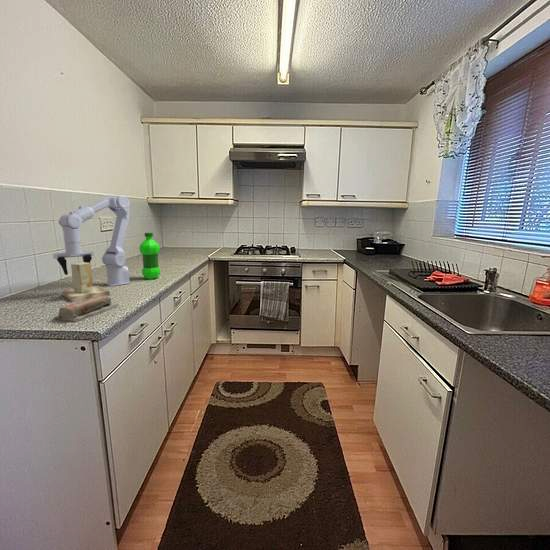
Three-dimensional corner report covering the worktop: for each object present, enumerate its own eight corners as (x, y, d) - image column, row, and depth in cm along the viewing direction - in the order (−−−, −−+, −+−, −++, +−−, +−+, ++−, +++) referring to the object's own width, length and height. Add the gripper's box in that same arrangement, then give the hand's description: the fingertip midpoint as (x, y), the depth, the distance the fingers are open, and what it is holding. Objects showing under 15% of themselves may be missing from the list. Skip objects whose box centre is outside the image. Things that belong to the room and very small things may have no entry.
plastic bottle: (149, 281, 157) (146, 233, 152) (137, 278, 162) (134, 232, 157) (165, 277, 165) (162, 233, 160) (153, 275, 170) (150, 232, 165)
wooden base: (98, 289, 138) (98, 285, 137) (109, 295, 129) (109, 290, 128) (62, 295, 127) (62, 290, 127) (72, 301, 118) (71, 297, 118)
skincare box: (82, 293, 124) (78, 264, 121) (73, 292, 124) (69, 264, 122) (94, 289, 130) (91, 262, 127) (85, 289, 131) (82, 261, 128)
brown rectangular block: (75, 309, 96) (52, 306, 99) (77, 323, 97) (54, 320, 100) (118, 295, 113) (97, 293, 116) (119, 307, 114) (98, 305, 117)
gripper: (88, 240, 135) (91, 269, 138) (49, 242, 125) (54, 274, 127) (93, 242, 131) (97, 272, 134) (54, 244, 120) (58, 276, 123)
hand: (76, 273), depth 130 cm, fingers open, 7 cm apart
